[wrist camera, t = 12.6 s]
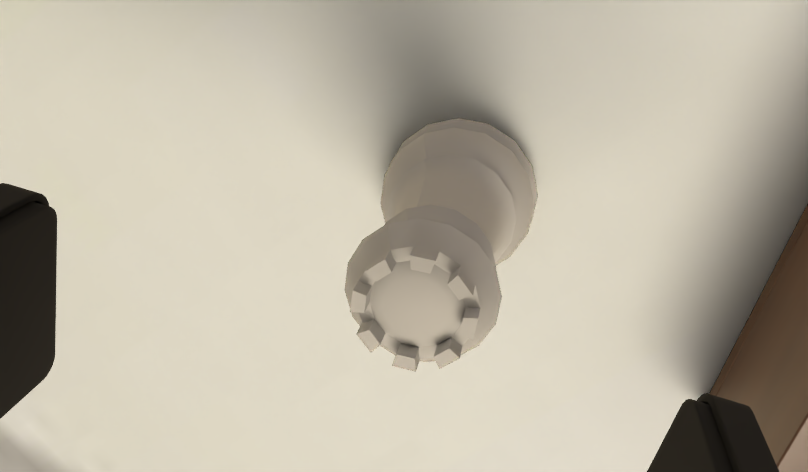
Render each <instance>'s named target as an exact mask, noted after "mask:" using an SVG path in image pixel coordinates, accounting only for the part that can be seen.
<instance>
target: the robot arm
mask: <svg viewBox="0 0 808 472" xmlns="http://www.w3.org/2000/svg"><path fill="white" fill-rule="evenodd" d="M56 251H57V215H56V212H55V210H54V209H53V208H52V207H49V203H48V201H47V199H46V197H45V196H43V195H42V194H39V193H36V192H33V191H29V190H26V189H23V188H19V187H16V186H13V185H9V184H5V183H2V184H0V418H2V417H3V416H4V415H5V414H6V413H7V412H8V411H9V410H10V409H11V408H13V407H14V406H15V405H16V404H17V403H18V402H19V401H20V400H21V399H22V398H24V397H25V396H26V395H27V394H28V393H29V392H30V391H31V390H32V389H33V388H35V387H36V386H37V385H38V384H39V383H40V382H41V381H42V380H43V379H44V378H45V377H46V376H47V374H48V373H49V371H50V369H51V367H52V365H53V362H54V358H55V319H56ZM647 472H779V470H778V467H777V465H776V463H775V461H774V458H773V456H772V454H771V451H770V449H769V447H768V445H767V442H766V440H765V438H764V436H763V433H762V431H761V429H760V426H759V424H758V422H757V420H756V417H755V415H754V413H753V411H752V409H751V408H750V407H749V406H747V405H745V404H741V403H738V402H735V401H731V400H728V399H725V398H721V397H718V396H715V395H711V394H708V393H706V394H703V395H702V396H700V397H699V398H698V400H697V401H695V400H692V399H688V400H686V401H685V402H684V403H683V404H682V406H681V407H680V409H679V411H678V413H677V415H676V417H675V419H674V421H673V423H672V425H671V427H670V429H669V431H668V433H667V434H666V436H665V438H664V440H663V442H662V444H661V446H660V448H659V450H658V452H657V454H656V456H655V458H654V460H653V461H652V463H651V465H650V467H649V469H648V471H647Z"/></svg>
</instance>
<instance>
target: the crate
mask: <svg viewBox="0 0 808 472" xmlns="http://www.w3.org/2000/svg"><path fill="white" fill-rule="evenodd" d="M710 394H711V395H715V396H718V397H721V398H725V399H728V400H731V401H735V402H738V403H741V404H745V405H747V406H749V407H750V408H751V409H752V411H753V413H754V415H755V417H756V420H757V422H758V424H759V426H760V429H761V431H762V433H763V436H764V438H765V440H766V442H767V445H768V447H769V449H770V451H771V454H772V456H773V458H774V461H775V463H776V465H777V467H778V470H779V472H808V204H807V206H806V208H805V210H804V212H803V214H802V216H801V218H800V220H799V222H798V224H797V226H796V228H795V229H794V231H793V233H792V235H791V237H790V239H789V241H788V243H787V245H786V247H785V249H784V251H783V253H782V255H781V257H780V258H779V260H778V262H777V264H776V266H775V268H774V270H773V272H772V274H771V276H770V278H769V280H768V282H767V284H766V286H765V287H764V289H763V291H762V293H761V295H760V297H759V299H758V301H757V303H756V305H755V307H754V309H753V311H752V313H751V314H750V316H749V318H748V320H747V322H746V324H745V326H744V328H743V330H742V332H741V334H740V336H739V338H738V340H737V342H736V343H735V345H734V347H733V349H732V351H731V353H730V355H729V357H728V359H727V361H726V363H725V365H724V367H723V369H722V371H721V372H720V374H719V376H718V378H717V380H716V382H715V384H714V386H713V388H712V390H711V392H710Z"/></svg>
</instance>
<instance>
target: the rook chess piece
mask: <svg viewBox="0 0 808 472" xmlns="http://www.w3.org/2000/svg"><path fill="white" fill-rule="evenodd" d="M537 196H538V194H537V189H536V183H535V178H534V173H533V168H532V165H531V164H530V162H529V161H528V159H527V158H526V156H525V155H524V153H523V152H522V150H521V149H520V147H519V146H518V144H517V143H516V142H515V141H514V140H513V139H511V138H510V137H508V136H507V135H505V134H504V133H502V132H501V131H499V130H498V129H496V128H494V127H493V126H491V125H490V124H487V123H482V122H477V121H471V120H466V119H461V118H456V119H451V120H446V121H441V122H436V123H432V124H428V125H426V126H425V127H423V128H422V129H421V130H419V131H418V132H416V133H415V134H413V135H412V136H410V137H409V138H408V139H406V140H405V141H404V142H403V143H402V145H401V147H400V148H399V150H398V151H397V153H396V155H395V156H394V158H393V159H392V161H391V163H390V164H389V168H388V170H387V172H386V173H385V176H384V183H383V190H382V197H381V208H382V211H383V215H384V219H385V223H386V224H385V225H384V226H383V227H381V228H380V229H378V230H377V231H375V232H374V233H372V234H370V235H369V236H367V237H366V238H364V239H363V240H362V242H361V243H360V245H359V246H358V248H357V250H356V251H355V253H354V254H353V256H352V257H351V259H350V261H349V262H348V267H347V275H346V283H345V293H346V296H347V299H348V303H349V306H350V312H351V313H352V316H353V318H354V319H355V320H356V322H357V323H358V324H359V325H360V328H359V330H358V332H357V335H358V337H359V338H360V339H361V340H362V342H363V343H364V344H365V346H366V347H367V348H368V349H369V351H370V352H373V351H374V350H375V349H376V348H377V347H378V346H379V345H380V346H382V347H383V348H385V349H386V350H388V351H390V352H391V353H393V354H394V355H396V356H395V359H394V362H393V364H392V366H395V367H399V368H403V369H407V370H412V371H416V369H417V366H418V363H419V361H422V362H430V361H436V363H437V365H438V367H439V369H440V368H442V367H444V366H446V365H448V364H450V363H452V362H453V361H455V360H457V359H459V358H460V355H462V354H464V353H465V352H467V351H469V350H471V349H473V348H475V347H477V346H479V344H480V343H481V342H482V341H483V339H484V338H485V337H486V335H487V334H488V333H489V332H490V330H491V329H492V328H493V327H494V325H495V324H496V320H497V316H498V311H499V307H500V302H501V298H502V295H501V291H500V286H499V282H498V277H497V272H496V265H497V264H499V263H501V262H502V261H504V260H506V259H507V258H509V257H510V256H511V255H512V253H513V252H514V251H515V250H516V248H517V247H518V246H519V244H520V243H521V242H522V240H523V239H524V238H525V236H526V235H527V234H528V231H529V227H530V224H531V222H532V217H533V213H534V209H535V205H536V200H537Z"/></svg>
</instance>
